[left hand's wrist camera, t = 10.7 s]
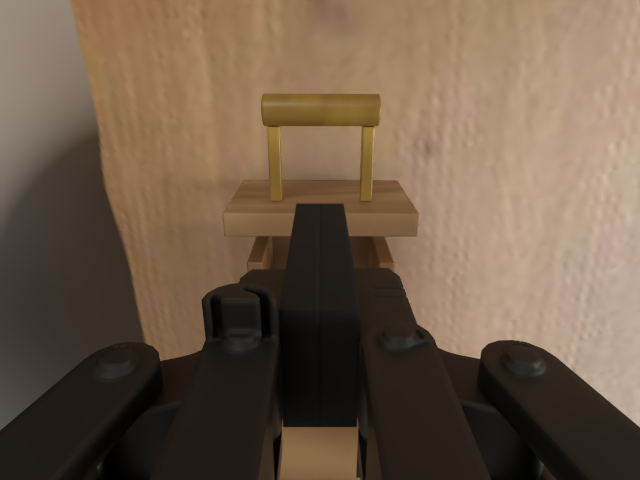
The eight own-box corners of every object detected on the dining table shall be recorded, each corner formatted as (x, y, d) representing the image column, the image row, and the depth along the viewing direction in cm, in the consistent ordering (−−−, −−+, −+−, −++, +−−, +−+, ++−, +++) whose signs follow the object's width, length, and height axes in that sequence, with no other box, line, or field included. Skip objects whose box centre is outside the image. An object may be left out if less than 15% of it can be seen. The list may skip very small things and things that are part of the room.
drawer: (238, 88, 26) (212, 97, 20) (403, 89, 26) (429, 97, 20) (257, 397, 34) (243, 471, 28) (383, 397, 34) (396, 471, 28)
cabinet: (244, 293, 32) (219, 370, 24) (396, 293, 32) (421, 371, 24) (257, 480, 39) (241, 590, 31) (382, 480, 39) (398, 590, 31)
